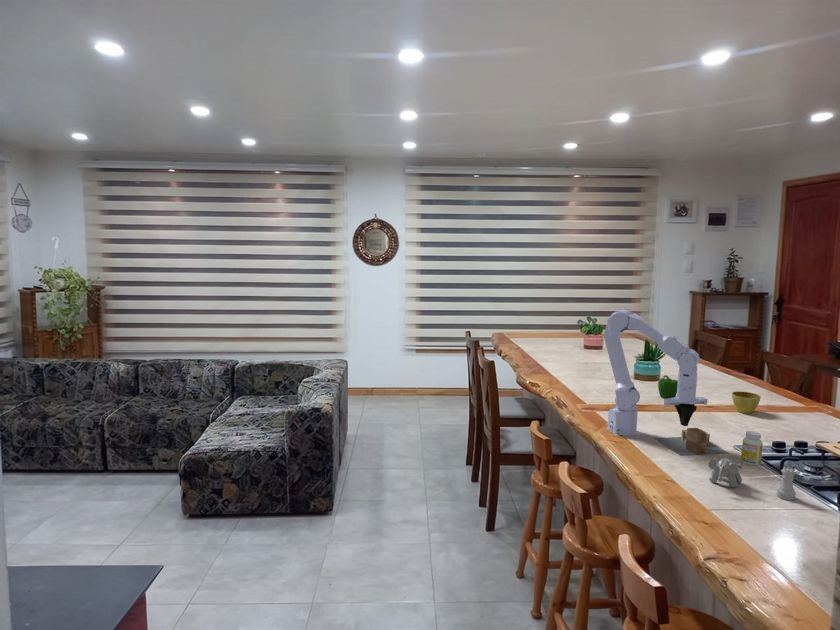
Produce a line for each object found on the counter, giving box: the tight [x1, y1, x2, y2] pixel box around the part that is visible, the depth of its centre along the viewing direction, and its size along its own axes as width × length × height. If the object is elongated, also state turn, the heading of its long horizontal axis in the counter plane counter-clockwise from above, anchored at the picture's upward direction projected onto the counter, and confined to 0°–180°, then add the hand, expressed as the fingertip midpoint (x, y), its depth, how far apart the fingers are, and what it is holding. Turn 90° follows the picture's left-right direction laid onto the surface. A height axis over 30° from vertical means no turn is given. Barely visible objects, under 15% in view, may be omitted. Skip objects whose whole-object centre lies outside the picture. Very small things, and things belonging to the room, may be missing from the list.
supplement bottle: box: [740, 430, 764, 466], centre depth 173 cm, size 5×5×10 cm
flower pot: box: [731, 390, 762, 415], centre depth 225 cm, size 10×10×7 cm
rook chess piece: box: [776, 466, 797, 501], centre depth 149 cm, size 4×4×8 cm
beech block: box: [681, 428, 711, 444], centre depth 190 cm, size 4×5×7 cm
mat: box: [653, 436, 729, 457], centre depth 187 cm, size 17×16×1 cm
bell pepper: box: [657, 374, 678, 399], centre depth 245 cm, size 8×8×10 cm
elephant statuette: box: [708, 457, 743, 489], centre depth 157 cm, size 9×12×8 cm
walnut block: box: [686, 427, 708, 454], centre depth 181 cm, size 4×5×7 cm
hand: (684, 425), depth 189 cm, fingers closed
